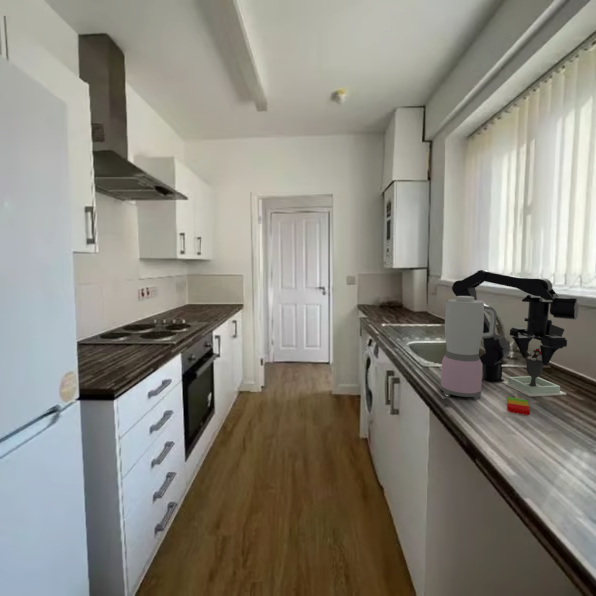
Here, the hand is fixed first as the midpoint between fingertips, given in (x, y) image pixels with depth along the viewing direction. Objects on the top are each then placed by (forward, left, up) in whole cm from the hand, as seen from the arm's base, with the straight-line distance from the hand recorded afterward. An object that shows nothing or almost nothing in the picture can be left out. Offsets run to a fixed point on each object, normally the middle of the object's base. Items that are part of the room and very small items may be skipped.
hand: (534, 361), depth 122 cm
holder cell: (0, 0, -10) cm, 10 cm away
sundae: (0, 0, -9) cm, 9 cm away
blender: (-26, -2, -10) cm, 28 cm away
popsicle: (-15, -12, -10) cm, 22 cm away
